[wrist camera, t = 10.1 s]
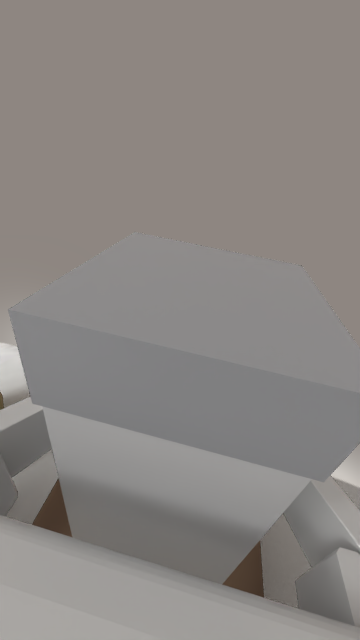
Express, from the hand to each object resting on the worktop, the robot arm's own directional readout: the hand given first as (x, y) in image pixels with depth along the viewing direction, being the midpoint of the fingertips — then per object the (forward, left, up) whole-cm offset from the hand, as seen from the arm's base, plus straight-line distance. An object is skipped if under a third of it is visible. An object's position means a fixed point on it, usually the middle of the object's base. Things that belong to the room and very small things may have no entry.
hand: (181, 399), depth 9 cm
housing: (0, -1, -7) cm, 7 cm away
